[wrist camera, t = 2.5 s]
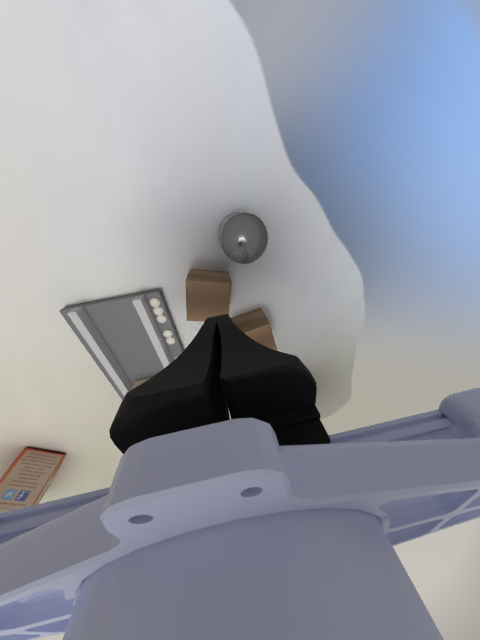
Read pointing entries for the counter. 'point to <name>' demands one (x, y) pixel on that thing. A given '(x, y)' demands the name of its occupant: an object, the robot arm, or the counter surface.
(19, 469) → the cracker box
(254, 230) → the metal peg
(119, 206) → the counter surface
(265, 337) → the walnut block
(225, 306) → the walnut block
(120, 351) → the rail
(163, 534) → the robot arm
